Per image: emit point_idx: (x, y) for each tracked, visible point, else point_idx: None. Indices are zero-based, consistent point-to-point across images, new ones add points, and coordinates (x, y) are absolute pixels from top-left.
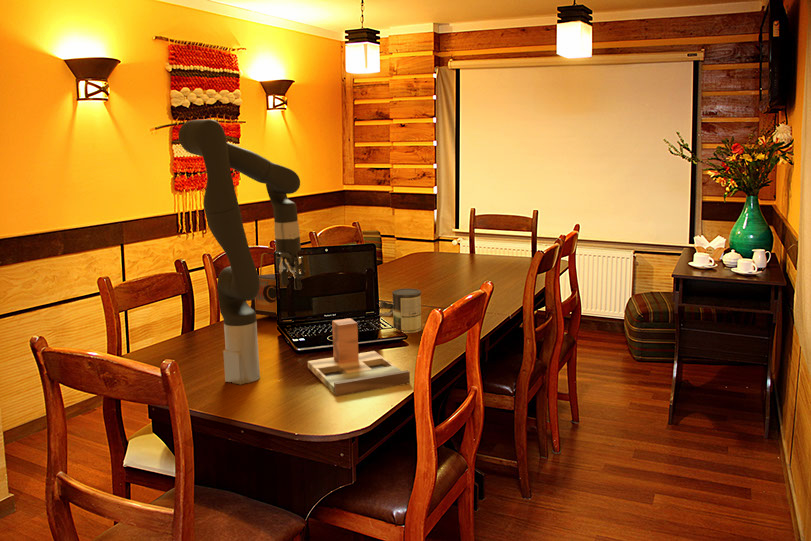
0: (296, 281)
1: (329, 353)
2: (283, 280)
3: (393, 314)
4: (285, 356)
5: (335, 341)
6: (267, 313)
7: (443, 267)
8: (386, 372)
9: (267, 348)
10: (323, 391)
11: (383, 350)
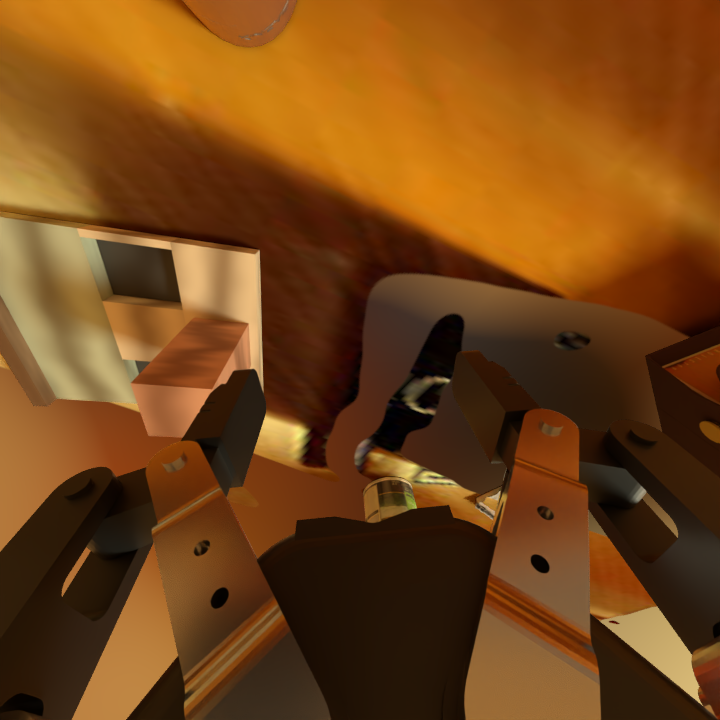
0: (200, 427)
1: (342, 341)
2: (473, 380)
3: (403, 507)
4: (390, 237)
5: (206, 348)
6: (713, 337)
7: (598, 594)
8: (87, 374)
9: (496, 223)
10: (15, 191)
11: (296, 427)
